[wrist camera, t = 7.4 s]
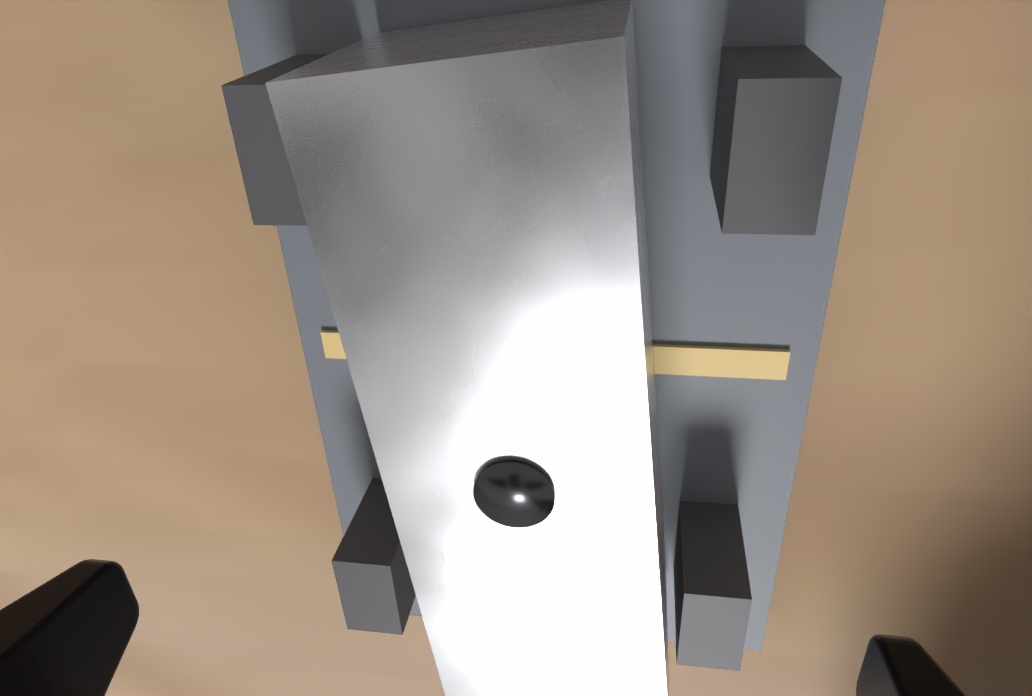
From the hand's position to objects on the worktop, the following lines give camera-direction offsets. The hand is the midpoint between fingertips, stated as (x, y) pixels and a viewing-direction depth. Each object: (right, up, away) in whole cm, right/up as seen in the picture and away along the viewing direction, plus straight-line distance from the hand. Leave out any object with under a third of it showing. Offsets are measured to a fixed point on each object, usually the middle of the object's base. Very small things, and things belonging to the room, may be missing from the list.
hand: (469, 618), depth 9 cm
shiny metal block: (+1, +3, +5) cm, 6 cm away
